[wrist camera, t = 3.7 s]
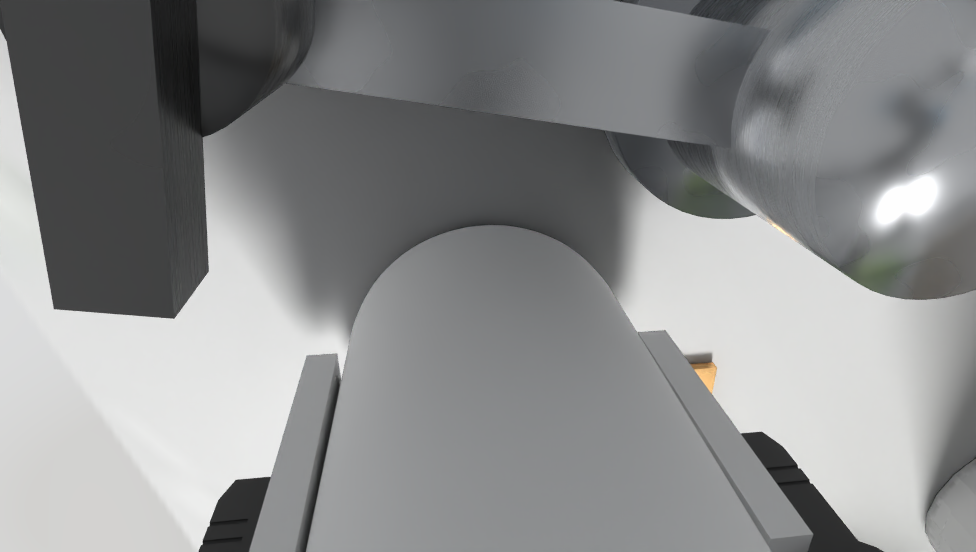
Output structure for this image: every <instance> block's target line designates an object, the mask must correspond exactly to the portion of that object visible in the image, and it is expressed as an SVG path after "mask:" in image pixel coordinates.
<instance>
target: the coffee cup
mask: <svg viewBox="0 0 976 552" xmlns="http://www.w3.org/2000/svg"><path fill="white" fill-rule="evenodd" d="M925 532H926V534H927V536H928V539H929V541H930V543H931V545H932V546H933V548H934V549H935V551H936V552H976V458H975V459H974V460H973V461H971V462H970V463H969V464H967V465H966V466H965V467H964V468H962V469H961V470H960V471H958V472H957V473H956V474H954V476H953V477H952V478H951V479H950V480H949V481H948V482H947V483H946V485H945V486H944V487H943V488H942V489H941V490H940V491H939V492H938V494H937V495H936V497H935V499H934V501H933V503H932V505H931V507H930V509H929V511H928V513H927V518H926V528H925Z"/></svg>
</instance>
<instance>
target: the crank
mask: <svg viewBox="0 0 976 552" xmlns="http://www.w3.org/2000/svg"><path fill="white" fill-rule="evenodd" d="M0 29H1V31H2V33H3V35H4V37H5V39H6V41H7V45H8V51H9V57H10V62H11V68H12V74H13V79H14V85H15V91H16V96H17V102H18V108H19V113H20V119H21V125H22V130H23V136H24V142H25V147H26V153H27V159H28V164H29V170H30V176H31V181H32V187H33V193H34V198H35V204H36V210H37V215H38V221H39V227H40V232H41V238H42V244H43V249H44V255H45V261H46V266H47V272H48V278H49V283H50V289H51V295H52V300H53V306H54V309H59V310H72V311H85V312H97V313H110V314H123V315H135V316H148V317H161V318H173V319H174V318H175V317H176V316H177V314H178V313H179V312H180V310H181V309H182V307H183V306H184V305H185V303H186V302H187V301H188V299H189V298H190V296H191V295H192V294H193V292H194V291H195V290H196V288H197V287H198V285H199V284H200V283H201V281H202V280H203V278H204V277H205V276H206V274H207V273H208V272H209V266H208V245H207V223H206V201H205V179H204V158H203V137H205V136H208V135H211V134H213V133H215V132H217V131H219V130H221V129H223V128H225V127H226V126H228V125H229V124H230V123H232V122H233V121H235V120H236V119H237V118H239V117H240V116H241V115H243V114H244V113H245V112H247V111H248V110H250V109H251V108H252V107H254V106H255V105H256V104H258V103H259V102H260V101H262V100H263V99H264V98H266V97H267V96H268V95H270V94H271V93H272V92H274V91H275V90H276V89H278V88H279V87H280V86H282V85H283V84H285V83H287V84H294V85H301V86H308V87H314V88H321V89H328V90H335V91H342V92H348V93H355V94H362V95H369V96H376V97H383V98H389V99H396V100H403V101H410V102H417V103H423V104H430V105H437V106H444V107H451V108H457V109H464V110H471V111H478V112H485V113H491V114H498V115H505V116H512V117H519V118H525V119H532V120H539V121H546V122H553V123H559V124H566V125H573V126H580V127H587V128H593V129H600V130H607V131H614V132H621V133H627V134H634V135H641V136H648V137H655V138H661V139H666V140H667V142H668V144H669V146H670V148H671V149H672V151H673V152H674V154H675V155H676V157H677V158H678V159H679V160H680V161H681V162H682V163H683V164H684V165H685V166H686V167H687V168H688V169H690V170H691V171H692V172H693V173H695V174H696V175H698V176H699V177H701V178H702V179H704V180H705V181H707V182H708V183H710V184H711V185H713V186H714V187H716V188H717V189H719V190H720V191H722V192H723V193H725V194H726V195H728V196H729V197H731V198H732V199H734V200H735V201H737V202H738V203H739V204H741V205H742V206H744V207H745V208H747V209H748V210H750V211H751V212H753V213H754V214H756V215H757V216H759V217H760V218H762V219H763V220H765V221H766V222H768V223H769V224H771V225H772V226H774V227H775V228H777V229H778V230H780V231H781V232H783V233H784V234H786V235H787V236H789V237H790V238H792V239H793V240H795V241H796V242H797V243H799V244H800V245H802V246H803V247H805V248H806V249H808V250H809V251H811V252H812V253H814V254H815V255H817V256H818V257H820V258H821V259H823V260H824V261H826V262H827V263H829V264H830V265H832V266H833V267H835V268H836V269H838V270H839V271H841V272H842V273H844V274H845V275H847V276H848V277H850V278H851V279H853V280H854V281H856V282H857V283H859V284H861V285H862V286H864V287H866V288H868V289H870V290H872V291H874V292H877V293H880V294H883V295H886V296H890V297H896V298H901V299H916V300H926V299H937V298H945V297H949V296H954V295H959V294H963V293H966V292H970V291H973V290H976V0H701V1H700V2H699V3H698V4H697V5H696V6H695V7H694V8H693V9H692V11H691V12H690V13H689V15H688V14H683V13H678V12H672V11H667V10H662V9H656V8H651V7H646V6H640V5H635V4H630V3H624V2H619V1H614V0H0Z"/></svg>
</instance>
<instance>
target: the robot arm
mask: <svg viewBox="0 0 976 552" xmlns="http://www.w3.org/2000/svg"><path fill="white" fill-rule="evenodd" d="M638 335H639V336H640V338H641V340H642V341H643V343H644V344H645V346H646V348H647V349H648V351H649V353H650V354H651V356H652V358H653V359H654V361H655V362H656V364H657V366H658V367H659V369H660V371H661V372H662V374H663V375H664V377H665V379H666V380H667V382H668V384H669V385H670V387H671V388H672V390H673V392H674V393H675V395H676V397H677V398H678V400H679V402H680V403H681V405H682V406H683V408H684V410H685V411H686V413H687V415H688V416H689V418H690V419H691V421H692V423H693V424H694V426H695V428H696V429H697V431H698V432H699V434H700V436H701V437H702V439H703V441H704V442H705V444H706V446H707V447H708V449H709V450H710V452H711V454H712V455H713V457H714V459H715V460H716V462H717V463H718V465H719V467H720V468H721V470H722V472H723V473H724V475H725V476H726V478H727V480H728V481H729V483H730V485H731V486H732V488H733V489H734V491H735V493H736V494H737V496H738V498H739V499H740V501H741V503H742V504H743V506H744V507H745V509H746V511H747V512H748V514H749V516H750V517H751V519H752V520H753V522H754V524H755V525H756V527H757V529H758V530H759V532H760V533H761V535H762V537H763V538H764V540H765V542H766V543H767V545H768V547H769V548H770V550H771V551H772V552H883V551H882V550H880V549H878V548H877V547H874V546H871V545H868V544H865V543H862V542H859V541H858V540H857V539H856V538H855V537H854V535H853V534H852V533H851V531H850V530H849V529H848V528H847V526H846V525H845V524H844V523H843V521H842V520H841V519H840V518H839V516H838V515H837V514H836V513H835V511H834V510H833V509H832V508H831V506H830V505H829V504H828V503H827V501H826V500H825V499H824V498H823V496H822V495H821V494H820V493H819V491H818V490H817V489H816V488H815V486H814V485H813V484H810V482H809V479H808V478H807V476H806V475H805V474H804V473H803V471H802V470H801V469H798V466H797V464H796V462H795V461H794V460H793V459H792V457H791V456H790V455H789V454H788V452H787V451H786V450H785V449H784V447H783V446H781V445H780V444H778V443H777V442H776V441H774V440H773V439H771V438H770V437H769V436H767V435H766V434H764V433H763V432H753V433H742V434H740V432H739V431H738V430H737V428H736V427H735V425H734V424H733V423H732V421H731V420H730V419H729V417H728V416H727V414H726V413H725V412H724V410H723V409H722V408H721V406H720V405H719V403H718V402H717V401H716V399H715V398H714V396H713V395H712V394H711V392H710V391H709V390H708V388H707V387H706V385H705V384H704V383H703V381H702V380H701V379H700V377H699V376H698V374H697V373H696V372H695V370H694V369H693V368H692V366H691V365H690V363H689V362H688V361H687V359H686V358H685V356H684V355H683V354H682V352H681V351H680V350H679V348H678V347H677V345H676V344H675V343H674V341H673V340H672V339H671V337H670V336H669V334H668V333H667V332H666V330H663V331H648V332H638ZM340 385H341V376H340V369H339V363H338V356H337V354H323V355H308V356H306V360H305V363H304V367H303V370H302V373H301V377H300V380H299V384H298V387H297V390H296V394H295V397H294V400H293V404H292V407H291V411H290V414H289V417H288V421H287V424H286V428H285V431H284V434H283V438H282V441H281V445H280V448H279V451H278V455H277V458H276V462H275V465H274V468H273V472H272V475H271V477H263V478H252V479H241V480H235V482H234V483H233V484H232V485H231V486H230V487H229V489H228V490H227V491H226V492H225V493H224V494H223V495H222V497H221V498H220V499H219V500H218V502H217V505H216V508H215V510H214V513H213V515H212V518H211V521H210V527H208V528H207V531H206V534H205V536H204V539H203V545H201V547H200V549H199V552H306V548H307V544H308V539H309V534H310V529H311V524H312V519H313V515H314V510H315V505H316V500H317V495H318V491H319V486H320V481H321V476H322V471H323V466H324V462H325V457H326V452H327V447H328V442H329V438H330V433H331V428H332V423H333V418H334V413H335V409H336V404H337V399H338V394H339V389H340Z"/></svg>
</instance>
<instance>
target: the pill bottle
mask: <svg viewBox="0 0 976 552" xmlns="http://www.w3.org/2000/svg"><path fill="white" fill-rule="evenodd" d="M306 552H772V551H771V550H770V548H769V547H768V545H767V543H766V542H765V540H764V538H763V537H762V535H761V533H760V532H759V530H758V529H757V527H756V525H755V524H754V522H753V520H752V519H751V517H750V516H749V514H748V512H747V511H746V509H745V507H744V506H743V504H742V503H741V501H740V499H739V498H738V496H737V494H736V493H735V491H734V489H733V488H732V486H731V485H730V483H729V481H728V480H727V478H726V476H725V475H724V473H723V472H722V470H721V468H720V467H719V465H718V463H717V462H716V460H715V459H714V457H713V455H712V454H711V452H710V450H709V449H708V447H707V446H706V444H705V442H704V441H703V439H702V437H701V436H700V434H699V432H698V431H697V429H696V428H695V426H694V424H693V423H692V421H691V419H690V418H689V416H688V415H687V413H686V411H685V410H684V408H683V406H682V405H681V403H680V402H679V400H678V398H677V397H676V395H675V393H674V392H673V390H672V388H671V387H670V385H669V384H668V382H667V380H666V379H665V377H664V375H663V374H662V372H661V371H660V369H659V367H658V366H657V364H656V362H655V361H654V359H653V358H652V356H651V354H650V353H649V351H648V349H647V348H646V346H645V344H644V343H643V341H642V340H641V338H640V336H639V335H638V333H637V331H636V330H635V328H634V327H633V325H632V323H631V322H630V320H629V318H628V317H627V315H626V314H625V312H624V310H623V309H622V307H621V305H620V304H619V302H618V301H617V299H616V297H615V296H614V294H613V292H612V291H611V289H610V288H609V286H608V285H607V283H606V282H605V281H604V279H603V278H602V277H601V276H600V275H599V273H598V272H597V271H596V270H595V269H594V268H593V267H592V266H591V265H590V264H589V263H588V262H587V261H586V260H585V259H584V258H583V257H582V256H580V255H579V254H578V253H577V252H575V251H574V250H573V249H571V248H570V247H568V246H567V245H565V244H563V243H561V242H560V241H558V240H556V239H554V238H551V237H549V236H547V235H544V234H542V233H539V232H536V231H532V230H528V229H524V228H519V227H513V226H503V225H482V226H472V227H466V228H461V229H456V230H452V231H449V232H446V233H443V234H440V235H437V236H435V237H432V238H430V239H428V240H426V241H424V242H422V243H420V244H418V245H416V246H415V247H413V248H411V249H410V250H408V251H407V252H405V253H404V254H403V255H401V256H400V257H399V258H398V259H396V260H395V261H394V262H393V263H392V264H391V265H390V266H389V267H388V268H387V269H386V270H385V271H384V272H383V273H382V274H381V275H380V276H379V278H378V279H377V280H376V282H375V283H374V284H373V286H372V287H371V289H370V290H369V292H368V294H367V295H366V297H365V299H364V301H363V303H362V305H361V308H360V310H359V312H358V315H357V317H356V319H355V322H354V325H353V328H352V332H351V336H350V341H349V346H348V351H347V356H346V361H345V365H344V370H343V375H342V380H341V385H340V389H339V394H338V399H337V404H336V409H335V413H334V418H333V423H332V428H331V433H330V438H329V442H328V447H327V452H326V457H325V462H324V466H323V471H322V476H321V481H320V486H319V491H318V495H317V500H316V505H315V510H314V515H313V519H312V524H311V529H310V534H309V539H308V544H307V548H306Z"/></svg>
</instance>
